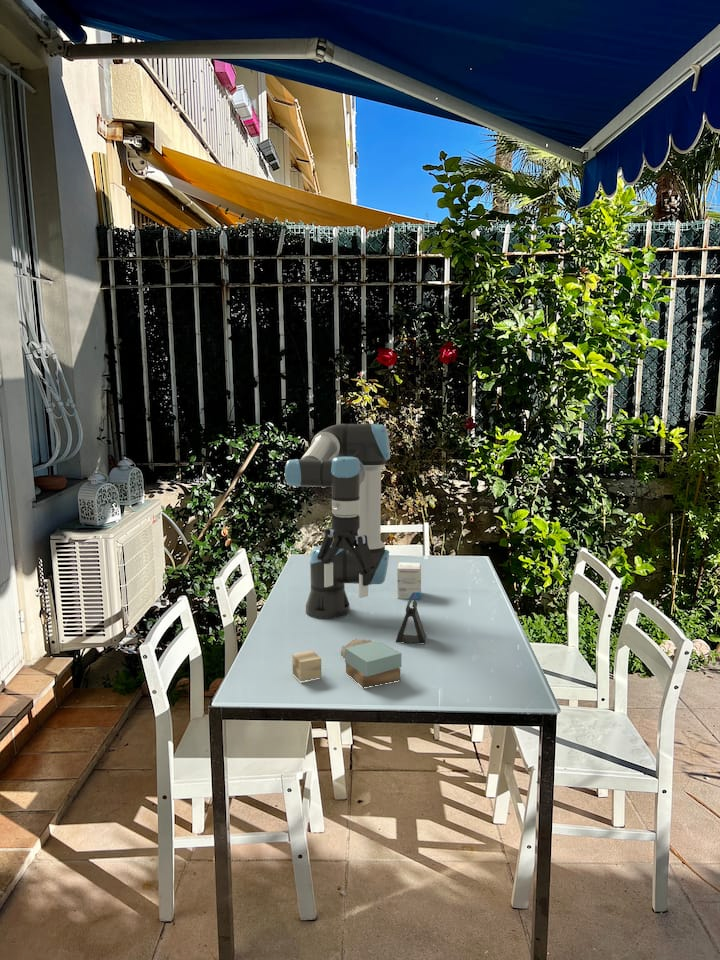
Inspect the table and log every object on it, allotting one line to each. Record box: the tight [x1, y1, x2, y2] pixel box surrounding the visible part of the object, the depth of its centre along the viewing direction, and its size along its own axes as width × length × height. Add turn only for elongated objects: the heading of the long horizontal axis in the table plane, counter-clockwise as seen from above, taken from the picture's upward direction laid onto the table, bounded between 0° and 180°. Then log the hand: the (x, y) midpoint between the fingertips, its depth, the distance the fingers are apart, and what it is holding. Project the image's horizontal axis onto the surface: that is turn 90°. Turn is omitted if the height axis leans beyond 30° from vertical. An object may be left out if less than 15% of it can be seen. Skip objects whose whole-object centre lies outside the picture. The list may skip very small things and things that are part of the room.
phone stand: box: [395, 599, 427, 644], centre depth 219 cm, size 9×6×12 cm, turn 80°
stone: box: [340, 638, 373, 659], centre depth 211 cm, size 12×12×3 cm
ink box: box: [396, 562, 422, 600], centre depth 262 cm, size 9×8×12 cm
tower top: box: [344, 639, 402, 677], centre depth 193 cm, size 11×11×4 cm
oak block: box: [291, 650, 322, 681], centre depth 193 cm, size 6×6×6 cm
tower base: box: [345, 662, 401, 688], centre depth 193 cm, size 11×11×4 cm
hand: (345, 591), depth 194 cm, fingers open, 13 cm apart
